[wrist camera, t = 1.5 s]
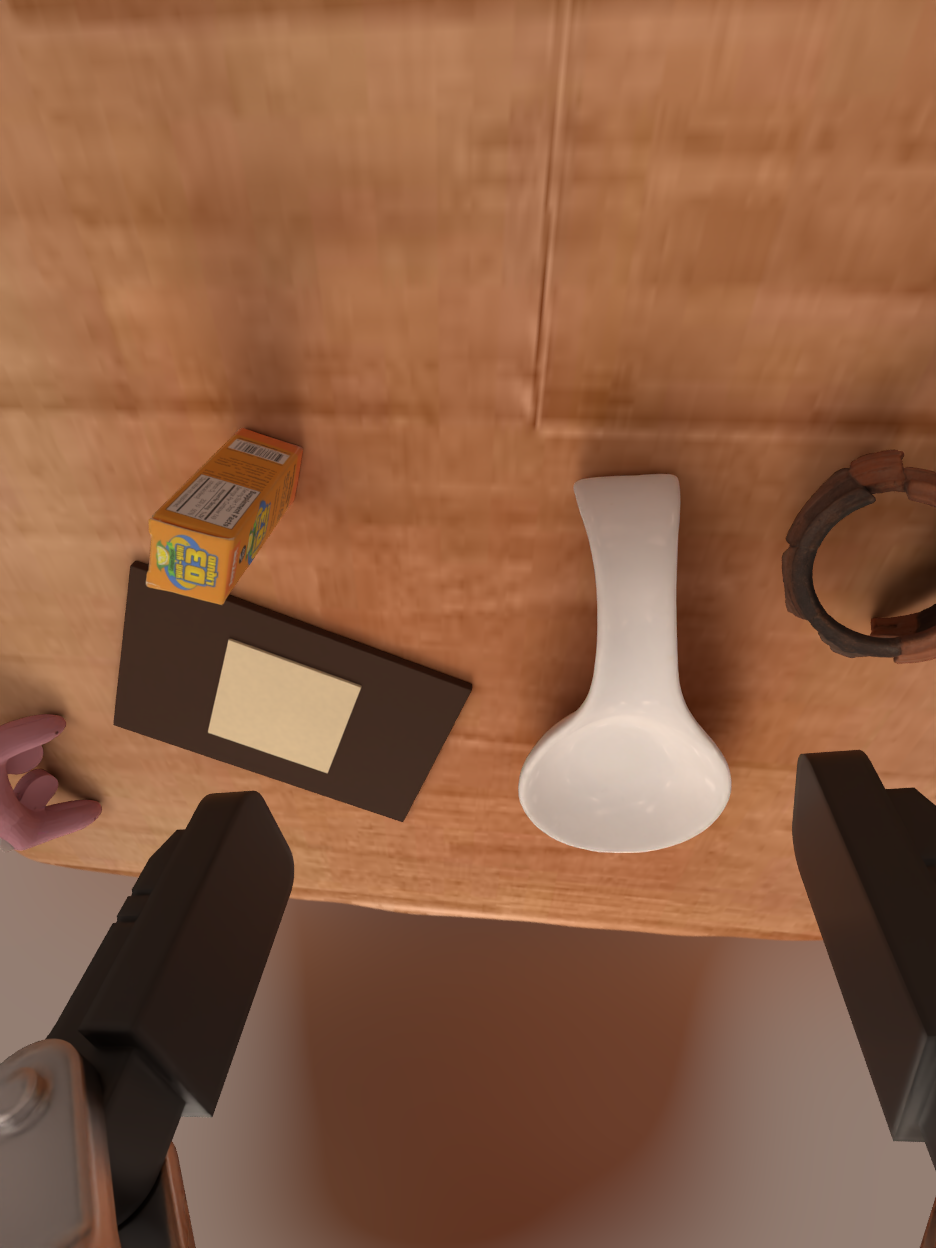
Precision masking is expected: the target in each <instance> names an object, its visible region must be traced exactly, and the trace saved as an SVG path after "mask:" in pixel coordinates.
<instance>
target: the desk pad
mask: <svg viewBox="0 0 936 1248" xmlns="http://www.w3.org/2000/svg"><path fill="white" fill-rule="evenodd" d="M148 570H149V565H146V564H144V563H141V562H138V561H135V562H134V563H133V564H132V565H131V566H130V575H129V585H128V594H127V603H126V613H125V622H124V631H123V640H122V650H121V659H120V668H119V678H118V687H117V696H116V705H115V715H114V725H115V726H118V727H121V728H124V729H127V730H130V731H133V732H136V733H139V734H142V735H145V736H148V737H151V738H154V739H157V740H160V741H163V742H166V743H169V744H172V745H175V746H178V747H181V748H183V749H186V750H189V751H192V752H195V753H198V754H201V755H204V756H207V757H210V758H213V759H216V760H219V761H222V762H225V763H228V764H231V765H234V766H237V767H240V768H243V769H246V770H249V771H252V772H255V773H258V774H261V775H264V776H267V777H270V778H273V779H276V780H279V781H282V782H285V783H288V784H291V785H294V786H296V787H299V788H302V789H305V790H308V791H311V792H314V793H317V794H320V795H323V796H326V797H329V798H332V799H335V800H338V801H341V802H344V803H347V804H350V805H353V806H356V807H359V808H362V809H365V810H368V811H371V812H374V813H377V814H380V815H383V816H386V817H389V818H392V819H395V820H398V821H401V822H403V821H404V819H405V817H406V816H407V814H408V812H409V810H410V808H411V806H412V804H413V802H414V800H415V798H416V796H417V794H418V792H419V791H420V789H421V787H422V785H423V783H424V781H425V779H426V777H427V775H428V773H429V771H430V769H431V767H432V766H433V764H434V762H435V760H436V758H437V756H438V754H439V752H440V750H441V748H442V746H443V744H444V743H445V741H446V739H447V737H448V735H449V733H450V731H451V729H452V727H453V725H454V723H455V721H456V719H457V718H458V716H459V714H460V712H461V710H462V708H463V706H464V704H465V702H466V700H467V698H468V696H469V694H470V693H471V691H472V684H470V683H467V682H464V681H462V680H459V679H456V678H453V677H451V676H448V675H445V674H443V673H440V672H437V671H434V670H432V669H429V668H426V667H424V666H421V665H418V664H415V663H413V662H410V661H407V660H405V659H402V658H399V657H396V656H394V655H391V654H388V653H386V652H383V651H380V650H377V649H375V648H372V647H369V646H367V645H364V644H361V643H358V642H356V641H353V640H350V639H347V638H345V637H342V636H339V635H337V634H334V633H331V632H328V631H326V630H323V629H320V628H318V627H315V626H312V625H309V624H307V623H304V622H301V621H299V620H296V619H293V618H290V617H288V616H285V615H282V614H280V613H277V612H274V611H271V610H269V609H266V608H263V607H261V606H258V605H255V604H252V603H250V602H247V601H244V600H242V599H239V598H236V597H233V596H231V595H228V597H227V598H226V600H225V602H224V604H222V605H220V604H216V603H212V602H208V601H204V600H200V599H196V598H193V597H189V596H185V595H181V594H177V593H174V592H169V591H164V590H159V589H154V588H150V587H147V585H146V578H147V572H148Z"/></svg>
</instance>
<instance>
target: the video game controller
mask: <svg viewBox="0 0 936 1248" xmlns="http://www.w3.org/2000/svg"><path fill="white" fill-rule="evenodd" d="M65 727H66V721H65V720H64V718H63V717H61V716H58V715H52V714H43V715H34V716H29V717H24V718H21V719H18V720H14V721H11V722H8V723H6V724H3V725H1V726H0V848H1V850H2V851H3V852H9V851H12V850H13V849H14V850H25V849H28V848H31V847H34V846H36V845H39V844H41V843H44V842H47V841H49V840H52V839H55V838H58V837H61V836H64V835H67V834H70V833H72V832H75V831H78V830H80V829H83V828H85V827H86V826H88V825H89V824H91V823H92V822H94V821H95V820H96V819H97V818H98V816H99V815H100V814H101V811H102V807H101V805H100V803H99V802H97V801H93V800H75V801H68V802H63V803H58V804H53V805H49V806H46V804H47V803H48V801H49V800H50V799H51V798H52V796H53V795H54V794H55V792H56V791H57V789H58V781H57V779H56V778H55V777H54V776H52V775H51V774H50V773H48V772H47V771H45V770H43V769H35V770H32V769H33V768H35V767H36V766H37V765H38V764H39V763H40V761H41V760H42V756H43V748H42V746H41V745H42V744H45V743H47V742H49V741H50V740H52V739H54V738H55V737H57V736H58V735H59V734H60V733H61V732H62V731H63V730H64V728H65ZM30 770H32V771H30ZM28 771H30V772H28ZM26 772H28V773H27V774H25V775H24V776H23V777H22V778H21V779H20V780H19V782H18V783H17V785H16V786H15V788H14V790H13V789H12V787H11V784H10V782H9V779H8V775H7V774H22V773H26Z"/></svg>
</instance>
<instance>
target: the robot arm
mask: <svg viewBox="0 0 936 1248" xmlns="http://www.w3.org/2000/svg"><path fill="white" fill-rule="evenodd" d="M792 836H793V845H794V851H795V856H796V861H797V865H798V868H799V872H800V875H801V878H802V880H803V883H804V886H805V889H806V892H807V895H808V898H809V900H810V903H811V906H812V909H813V912H814V915H815V918H816V921H817V923H818V926H819V929H820V932H821V935H822V938H823V941H824V943H825V946H826V949H827V952H828V955H829V958H830V960H831V963H832V966H833V969H834V972H835V975H836V978H837V980H838V983H839V986H840V989H841V992H842V995H843V998H844V1001H845V1004H846V1006H847V1009H848V1012H849V1015H850V1018H851V1021H852V1024H853V1026H854V1029H855V1032H856V1035H857V1038H858V1041H859V1044H860V1047H861V1050H862V1052H863V1055H864V1058H865V1061H866V1064H867V1067H868V1069H869V1072H870V1075H871V1078H872V1081H873V1084H874V1087H875V1090H876V1092H877V1095H878V1098H879V1101H880V1104H881V1107H882V1109H883V1112H884V1115H885V1118H886V1121H887V1124H888V1127H889V1130H890V1132H891V1136H892V1138H893V1141H911V1142H925V1144H926V1146H927V1149H928V1151H929V1154H930V1157H931V1160H932V1162H933V1165H934V1167H935V1170H936V806H935V805H934V804H933V803H932V802H931V801H929V800H928V799H927V798H926V797H925V796H923V795H922V794H921V793H920V792H919V791H918V790H916V789H915V788H899V789H885V788H884V786H883V784H882V782H881V780H880V778H879V776H878V774H877V773H876V771H875V769H874V767H873V765H872V763H871V761H870V760H869V758H868V756H867V755H866V754H865V753H864V752H863V751H861V750H849V751H835V752H821V753H807V754H801V755H800V756H799V758H798V763H797V774H796V786H795V798H794V810H793V822H792ZM293 880H294V861H293V856H292V853H291V850H290V848H289V846H288V844H287V842H286V840H285V838H284V836H283V835H282V833H281V831H280V829H279V827H278V825H277V823H276V821H275V819H274V818H273V816H272V814H271V812H270V810H269V808H268V806H267V804H266V802H265V800H264V799H263V797H262V796H261V795H260V793H258V792H257V791H243V792H229V793H214V794H209V795H207V796H205V797H204V798H203V799H202V800H201V802H200V803H199V805H198V807H197V809H196V810H195V812H194V814H193V816H192V818H191V820H190V822H189V824H188V825H187V827H186V829H183V830H176V831H175V832H174V833H173V835H172V836H171V837H170V838H169V839H168V840H167V841H166V842H165V843H164V844H163V845H162V846H161V847H160V848H159V849H158V850H157V851H156V852H155V853H154V854H153V855H152V856H151V857H150V858H149V860H148V862H147V864H146V866H145V867H144V869H143V871H142V873H141V874H140V876H139V878H138V880H137V882H136V884H135V885H134V887H133V889H132V895H131V896H128V897H127V899H126V901H125V903H124V905H123V906H122V908H121V910H120V912H119V913H118V915H117V922H116V923H113V924H112V926H111V927H110V929H109V931H108V933H107V935H106V936H105V938H104V940H103V941H102V943H101V945H100V947H99V949H98V950H97V952H96V954H95V956H94V957H93V959H92V961H91V963H90V965H89V966H88V968H87V970H86V972H85V973H84V975H83V977H82V979H81V981H80V982H79V984H78V986H77V987H76V989H75V991H74V993H73V995H72V996H71V998H70V1000H69V1002H68V1003H67V1005H66V1007H65V1009H64V1010H63V1012H62V1014H61V1016H60V1017H59V1019H58V1021H57V1023H56V1025H55V1026H54V1028H53V1029H52V1031H51V1032H50V1034H49V1035H48V1036H47V1038H46V1039H45V1040H41V1041H38V1042H35V1043H32V1044H30V1045H28V1046H26V1047H24V1048H22V1049H20V1050H18V1051H17V1052H15V1053H14V1054H12V1055H11V1056H10V1057H8V1058H7V1059H6V1060H4V1062H2V1063H1V1064H0V1248H196V1247H195V1242H194V1237H193V1232H192V1226H191V1221H190V1216H189V1211H188V1206H187V1200H186V1195H185V1190H184V1185H183V1180H182V1175H181V1169H180V1165H179V1159H178V1154H177V1151H176V1147H175V1146H174V1144H173V1142H172V1139H173V1136H174V1133H175V1130H176V1128H177V1126H178V1123H179V1120H180V1118H181V1116H186V1117H213V1114H214V1111H215V1108H216V1105H217V1102H218V1099H219V1097H220V1094H221V1091H222V1088H223V1085H224V1082H225V1079H226V1077H227V1073H228V1071H229V1068H230V1065H231V1062H232V1059H233V1056H234V1054H235V1051H236V1048H237V1045H238V1042H239V1039H240V1036H241V1034H242V1031H243V1027H244V1025H245V1022H246V1019H247V1016H248V1013H249V1011H250V1008H251V1005H252V1002H253V999H254V996H255V993H256V991H257V988H258V985H259V982H260V979H261V976H262V973H263V970H264V968H265V965H266V962H267V959H268V956H269V953H270V950H271V948H272V945H273V942H274V939H275V936H276V933H277V930H278V928H279V925H280V922H281V919H282V916H283V913H284V910H285V907H286V905H287V901H288V899H289V896H290V893H291V890H292V886H293ZM920 1248H936V1198H935V1201H934V1204H933V1207H932V1210H931V1214H930V1218H929V1220H928V1223H927V1227H926V1230H925V1233H924V1236H923V1240H922V1243H921V1246H920Z"/></svg>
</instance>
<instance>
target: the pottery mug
mask: <svg viewBox="0 0 936 1248" xmlns="http://www.w3.org/2000/svg"><path fill="white" fill-rule="evenodd" d="M903 457H904V452H903V451H898V450H886V451H881V452H876V453H872V454H867V455H864V456H862V457H860V458H858V459H857V460H854V461H852V462H851V465H850V468H843V469H840V470H839V471H837V472H835V473H834V474H833V475H832V476H831V477H830V478H829V479H828V480H827V481H826V482H825V483H824V484H823V485H822V486H821V487H820V488H819V489H818V490H817V491H816V492H815V493H814V494H813V495H812V496H811V498H810V499H809V500H808V501H807V502H806V504H805V505H804V506H803V508H802V509H801V511H800V512H799V513H798V515H797V517H796V518H795V520H794V522H793V524H792V526H791V528H790V529H789V531H788V534H787V536H786V541H787V542H788V543H789V544H790V546H789V548H788V549H787V550H786V551H785V552H784V553H783V555H782V574H783V582H784V588H785V598H786V600H785V603H786V607H787V610H788V612H790V613H793V614H794V615H795V616H797V617H799V618H801V619H805V620H808V621H809V622H810V623H811V625H812V626H813V627H814V628H815V629H816V630H817V631H818V634H819V635H820V638H821V640H822V641H823V642H824V643H826V644H827V645H829V646H830V649H831V650H832V651H833V652H835V653H838V654H841V655H843V656H846V657H850V658H854V657H866V656H873V657H894V662H895V663H897V664H903V663H917V662H923V661H927V660H932V659H935V658H936V604H934V605H933V606H931V607H929V608H927V609H925V610H923V611H921V612H919V613H914V614H910V615H905V616H898V617H891V618H873V619H872V620H871V630H872V632H871V634H870V636H868V635H864V634H861V633H858V632H855V631H853V630H851V629H849V628H846V627H845V626H843V625H841V624H840V623H838V622H837V621H836V620H834V619H833V618H832V617H831V616H830V615H829V614H827V612H826V611H825V609H824V608H823V607H822V605H821V603H820V602H819V600H818V597H817V595H816V593H815V590H814V586H813V578H812V575H813V574H812V570H813V563H814V559H815V556H816V553H817V550H818V548H819V546H820V545H821V543H822V541H823V539H824V538H825V536H826V535H827V534H828V532H829V531H830V530H831V529H832V528H833V527H834V526H835V525H836V524H837V523H838V522H839V521H840V520H842V519H843V518H844V517H846V516H847V515H849V514H850V513H852V512H853V511H855V510H857V509H860V508H862V507H864V506H867V505H869V504H872V503H874V502H875V501H876V499H875V497H874V496H873V495H872V494H876V493H883V492H889V491H897V492H906V493H907V496H908V499H909V500H912V501H916V502H921V503H925V504H928V505H931V506H934V507H936V473H935V472H932V471H928V470H924V469H919V468H913V467H906V468H903V463H902V459H903Z"/></svg>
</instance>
